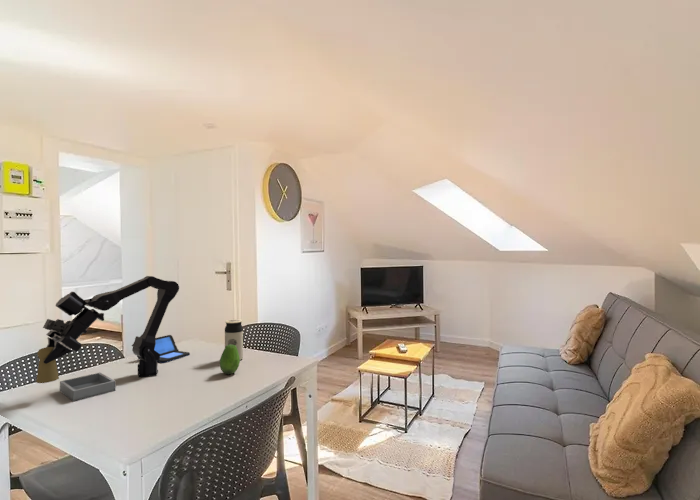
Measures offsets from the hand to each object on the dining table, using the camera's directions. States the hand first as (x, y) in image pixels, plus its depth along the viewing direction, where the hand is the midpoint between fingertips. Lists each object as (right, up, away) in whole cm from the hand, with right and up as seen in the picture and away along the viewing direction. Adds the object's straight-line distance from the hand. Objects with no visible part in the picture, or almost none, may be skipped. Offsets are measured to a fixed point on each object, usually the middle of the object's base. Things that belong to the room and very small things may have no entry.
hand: (42, 361), depth 127 cm
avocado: (+54, -13, +27) cm, 62 cm away
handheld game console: (+17, -14, +52) cm, 56 cm away
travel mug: (+50, -13, +47) cm, 70 cm away
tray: (+9, -13, +9) cm, 18 cm away
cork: (+1, -7, +1) cm, 7 cm away
